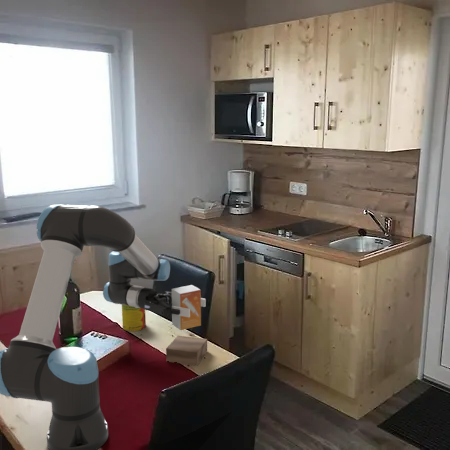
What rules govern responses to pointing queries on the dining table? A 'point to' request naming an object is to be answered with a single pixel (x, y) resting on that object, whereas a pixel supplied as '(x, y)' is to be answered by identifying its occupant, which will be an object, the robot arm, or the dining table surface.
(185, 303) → the small box
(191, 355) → the walnut block
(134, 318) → the yellow food can
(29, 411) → the dining table surface
